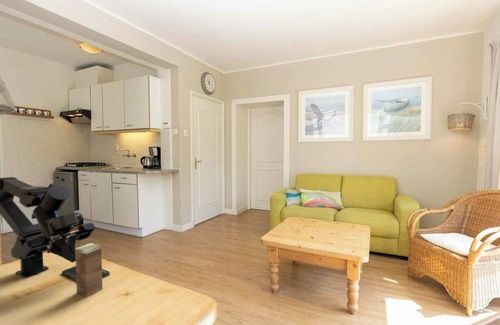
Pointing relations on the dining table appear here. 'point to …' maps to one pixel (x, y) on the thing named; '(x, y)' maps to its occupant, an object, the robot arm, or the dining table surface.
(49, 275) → the dining table surface
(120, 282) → the dining table surface
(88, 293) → the walnut block
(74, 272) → the phone
